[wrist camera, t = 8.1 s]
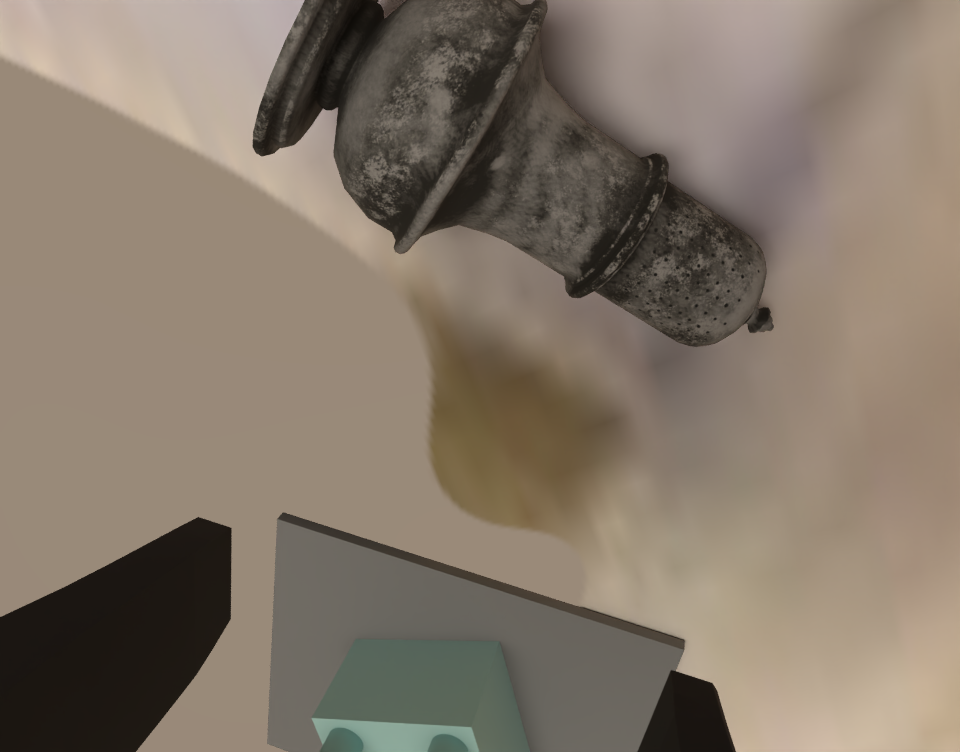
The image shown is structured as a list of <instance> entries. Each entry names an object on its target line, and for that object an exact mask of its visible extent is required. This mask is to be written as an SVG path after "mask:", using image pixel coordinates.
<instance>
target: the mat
mask: <svg viewBox="0 0 960 752" xmlns="http://www.w3.org/2000/svg"><path fill="white" fill-rule="evenodd" d="M274 584H275V585H274V605H273V628H272V649H271V650H272V651H271V673H270V694H269V716H268V739H267V743H268V744H269V745H272V746H275V747H278V748H280V749H283V750H285V751H288V752H320V750H321V748H322V746H323V744H322V742H321V740H320V737H319V735H318V733H317V730H316V728H315V725H314V723H313V721H312V716H313V714H314V713H315V711H316V709H317V707H318V705H319V704H320V702H321V700H322V698H323V697H324V695H325V693H326V691H327V689H328V688H329V686H330V684H331V682H332V680H333V679H334V677H335V675H336V673H337V672H338V670H339V668H340V666H341V664H342V663H343V661H344V659H345V657H346V656H347V654H348V652H349V650H350V648H351V647H352V645H353V643H354V641H355V639H386V640H446V641H500V645H501V649H502V652H503V656H504V659H505V663H506V667H507V670H508V674H509V677H510V681H511V685H512V688H513V692H514V695H515V699H516V703H517V706H518V710H519V713H520V717H521V721H522V724H523V728H524V731H525V735H526V738H527V742H528V746H529V749H530V752H637V751H638V749H639V747H640V744H641V742H642V739H643V737H644V734H645V732H646V729H647V727H648V725H649V722H650V720H651V717H652V715H653V712H654V710H655V707H656V705H657V703H658V700H659V698H660V695H661V693H662V690H663V688H664V685H665V683H666V681H667V678H668V676H669V673H670V671H671V670H673V671H676V669H677V666H678V664H679V662H680V659H681V657H682V654H683V652H684V640H681V639H678V638H674V637H671V636H668V635H665V634H662V633H659V632H656V631H653V630H649V629H646V628H643V627H640V626H637V625H634V624H631V623H628V622H624V621H621V620H618V619H615V618H612V617H609V616H606V615H603V614H599V613H596V612H593V611H590V610H587V609H584V608H581V607H578V606H574V605H571V604H568V603H565V602H562V601H559V600H555V599H552V598H549V597H546V596H543V595H540V594H537V593H534V592H531V591H527V590H524V589H521V588H518V587H515V586H512V585H509V584H506V583H502V582H499V581H496V580H493V579H490V578H487V577H484V576H481V575H477V574H474V573H471V572H468V571H465V570H462V569H459V568H456V567H452V566H449V565H446V564H443V563H440V562H437V561H434V560H430V559H427V558H424V557H421V556H418V555H415V554H412V553H409V552H405V551H402V550H399V549H396V548H393V547H390V546H386V545H383V544H380V543H377V542H374V541H371V540H367V539H364V538H361V537H358V536H355V535H352V534H349V533H346V532H343V531H340V530H336V529H333V528H330V527H327V526H324V525H321V524H318V523H315V522H312V521H309V520H305V519H302V518H299V517H296V516H293V515H290V514H287V513H282V514H281V515H280V517H279V518H278V519H277V538H276V560H275V582H274Z"/></svg>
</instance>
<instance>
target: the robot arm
mask: <svg viewBox="0 0 960 752" xmlns="http://www.w3.org/2000/svg"><path fill="white" fill-rule="evenodd" d="M230 619H231V528H230V527H227V526H224V525H220V524H218V523H215V522H211V521H209V520H205V519H202V518H199V517H198V518H196V519H194V520H192V521H190V522H188V523H186V524H184V525H182V526H180V527H178V528H176V529H174V530H172V531H171V532H169V533H167V534H165V535H163V536H161V537H159V538H158V539H156V540H154V541H152V542H150V543H148V544H146V545H144V546H142V547H141V548H139V549H137V550H135V551H133V552H131V553H129V554H128V555H126V556H124V557H122V558H120V559H118V560H116V561H114V562H113V563H111V564H109V565H107V566H105V567H103V568H101V569H99V570H97V571H95V572H93V573H91V574H89V575H87V576H85V577H83V578H81V579H79V580H77V581H76V582H74V583H72V584H70V585H68V586H66V587H64V588H62V589H59V590H57V591H55V592H53V593H51V594H49V595H47V596H45V597H42V598H40V599H38V600H36V601H34V602H32V603H30V604H28V605H26V606H23V607H21V608H19V609H17V610H15V611H13V612H10V613H8V614H6V615H4V616H2V617H0V752H136V751H137V750H138V748H139V747H140V746H141V745H142V743H143V742H144V741H145V740H146V738H147V737H148V736H149V735H150V733H151V732H152V731H153V729H154V728H155V727H156V726H157V725H158V723H159V722H160V721H161V719H162V718H163V717H164V715H165V714H166V713H167V712H168V711H169V709H170V708H171V707H172V705H173V704H174V703H175V702H176V700H177V699H178V698H179V696H180V695H181V694H182V693H183V691H184V690H185V689H186V688H187V686H188V685H189V684H190V682H191V681H192V680H193V679H194V677H195V676H196V674H197V673H198V671H199V670H200V668H201V667H202V665H203V664H204V662H205V660H206V659H207V657H208V656H209V654H210V653H211V651H212V649H213V648H214V646H215V644H216V643H217V641H218V639H219V638H220V636H221V634H222V633H223V631H224V629H225V628H226V626H227V624H228V623H229V621H230ZM637 752H736V751H735V748H734V745H733V742H732V739H731V735H730V732H729V729H728V726H727V723H726V720H725V716H724V713H723V710H722V706H721V703H720V699H719V696H718V692H717V690H716V688H715V687H714V685H713V683H710V682H707V681H704V680H701V679H698V678H695V677H692V676H689V675H686V674H682V673H679V672H676V671H673V670H671V671H670V673H669V676H668V678H667V681H666V683H665V685H664V688H663V690H662V693H661V695H660V698H659V700H658V703H657V705H656V707H655V710H654V712H653V715H652V717H651V720H650V722H649V725H648V727H647V729H646V732H645V734H644V737H643V739H642V742H641V744H640V747H639V749H638V751H637Z"/></svg>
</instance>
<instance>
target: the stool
mask: <svg viewBox="0 0 960 752" xmlns="http://www.w3.org/2000/svg"><path fill="white" fill-rule="evenodd" d="M312 721H313V723H314V725H315V728H316V730H317V733H318V735H319V737H320V740H321V742H322V744H323V746H322V748H321V750H320V752H530V749H529V746H528V742H527V738H526V735H525V731H524V728H523V724H522V721H521V717H520V713H519V710H518V706H517V703H516V699H515V695H514V692H513V688H512V685H511V681H510V677H509V674H508V670H507V667H506V663H505V659H504V656H503V652H502V649H501V645H500V641H446V640H386V639H355V641H354V643H353V645H352V647H351V648H350V650H349V652H348V654H347V656H346V657H345V659H344V661H343V663H342V664H341V666H340V668H339V670H338V672H337V673H336V675H335V677H334V679H333V680H332V682H331V684H330V686H329V688H328V689H327V691H326V693H325V695H324V697H323V698H322V700H321V702H320V704H319V705H318V707H317V709H316V711H315V713H314V714H313V716H312Z"/></svg>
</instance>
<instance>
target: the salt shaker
mask: <svg viewBox="0 0 960 752" xmlns="http://www.w3.org/2000/svg"><path fill="white" fill-rule="evenodd" d="M377 2H378V0H305V1H304V3H303V5H302V7H301V10H300V12H299V14H298V16H297V18H296V20H295V22H294V24H293V26H292V28H291V30H290V32H289V34H288V36H287V38H286V40H285V43H284V45H283V47H282V50H281V52H280V54H279V57H278V59H277V62H276V64H275V66H274V69H273V71H272V73H271V76H270V78H269V81H268V84H267V87H266V90H265V93H264V96H263V99H262V101H261V104H260V107H259V111H258V115H257V119H256V123H255V127H254V131H253V148H254V150H255V152H256V153H257V154H259V155H260V156H266V155H270V154H273V153H275V152H276V151H277V150H278V149H279V148H284V147H288V146H292V145H295V144H296V143H297V142H298V141H299V140H300V139H301V138H302V137H303V136H304V134H305V133H306V132H307V130H308V129H309V128H310V127H311V125H312V124H313V122H314V121H315V119H316V118H317V116H318V115H319V114H320V112H321V111H322V109H325V110H333V109H335V108H337V107H338V117H337V126H336V135H335V144H334V158H335V161H336V164H337V167H338V170H339V174H340V177H341V180H342V183H343V186H344V188H345V190H346V191H347V192H348V193H349V195H350V196H351V197H352V198H353V200H354V201H355V202H356V203H357V205H358V206H359V207H360V208H361V210H362V211H363V212H364V213H365V215H366V216H367V217H368V218H369V219H371V220H372V221H374V222H376V223H377V224H379V225H381V226H383V227H384V228H386V229H388V230H389V231H391V232H392V233H393V235H394V238H395V240H396V241H395V245H394V249H395V251H396V252H397V253H399V254H402V253H405V252H407V251H408V250H409V249H410V248H411V247H412V245H413V244H414V243H415V242H416V241H417V240H418V239H419V238H420V237H421V236H424V235H426V234H429V233H432V232H434V231H437V230H440V229H444V228H448V227H452V226H456V225H461V226H464V227H468V228H471V229H474V230H478V231H481V232H484V233H488V234H490V235H493V236H495V237H498V238H500V239H503V240H505V241H507V242H509V243H511V244H512V245H514V246H515V247H517V248H519V249H520V250H522V251H524V252H525V253H527V254H529V255H530V256H532V257H533V258H535V259H537V260H538V261H540V262H542V263H543V264H545V265H546V266H548V267H550V268H551V269H553V270H555V271H556V272H558V273H559V274H561V275H563V276H564V279H565V288H566V292H567V293H568V294H569V296H571V297H572V298H581V297H583V296H585V295H587V294H590V293H591V292H593V291H595V292H597V293H599V294H600V295H602V296H603V297H605V298H607V299H608V300H610V301H612V302H613V303H615V304H616V305H618V306H620V307H621V308H623V309H625V310H626V311H628V312H629V313H631V314H633V315H634V316H636V317H638V318H639V319H641V320H642V321H644V322H646V323H647V324H649V325H651V326H652V327H654V328H655V329H657V330H659V331H660V332H662V333H664V334H665V335H667V336H668V337H670V338H672V339H673V340H675V341H677V342H679V343H682V344H685V345H688V346H694V347H698V346H706V345H711V344H715V343H717V342H719V341H721V340H722V339H724V338H726V337H727V336H729V335H731V334H732V333H734V332H735V331H736V330H737V329H739V328H740V327H741V326H742V325H744V324H745V323H747V324H748V329H749V332H750V333H756V332H758V331H759V332H765V331H767V330H768V331H771V330H772V329H773V328H774V325H773V324H772V321H773V320H772V317H771V316H770V312H771V311H770V309H769V308H766V307H763V308H761V309H758V308H757V306H758V303H759V300H760V297H761V295H762V292H763V288H764V283H765V278H766V263H765V259H764V255H763V252H762V250H761V249H760V247H759V246H758V245H757V243H756V242H755V241H754V240H753V239H752V238H751V237H750V236H748V235H747V234H745V233H744V232H742V231H741V230H739V229H738V228H736V227H735V226H733V225H732V224H730V223H729V222H727V221H726V220H724V219H723V218H721V217H720V216H719V215H717V214H716V213H714V212H713V211H711V210H710V209H708V208H707V207H705V206H704V205H702V204H701V203H699V202H698V201H696V200H695V199H693V198H692V197H690V196H689V195H687V194H686V193H684V192H683V191H681V190H680V189H678V188H677V187H676V186H674V185H673V184H671V183H670V182H668V181H667V178H668V162H667V159H666V157H665V156H663V155H662V154H657V153H655V154H652V155H649V156H647V157H643V158H639V157H638V156H636V155H635V154H633V153H632V152H630V151H629V150H627V149H626V148H624V147H623V146H621V145H620V144H618V143H617V142H616V141H614V140H613V139H611V138H610V137H608V136H607V135H605V134H604V133H602V132H601V131H599V130H598V129H596V128H595V127H593V126H592V125H590V124H589V123H587V122H586V121H584V120H583V119H582V118H581V117H580V116H579V115H578V114H577V113H576V112H575V111H574V110H573V109H572V108H571V107H570V106H569V105H568V104H567V103H566V102H565V101H564V100H563V99H562V98H561V96H560V95H559V94H558V93H557V92H556V90H555V89H554V88H553V87H552V86H551V85H550V83H549V82H548V81H547V80H546V79H545V73H544V68H543V63H542V57H541V48H540V37H539V33H540V30H541V27H542V23H543V20H544V18H545V15H546V12H547V2H546V0H535V1H534V2H533V3H532V4H528V5H520V4H519V3H518V2H516V1H515V0H406V1H405V2H404V3H403V4H402V5H401V6H399V7H398V8H397V9H396V10H395V11H394V12H392V13H391V14H390V15H389V16H388V17H387V18H385V19H384V11H383V9H382V7H381V5H380V4H378V3H377Z"/></svg>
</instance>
